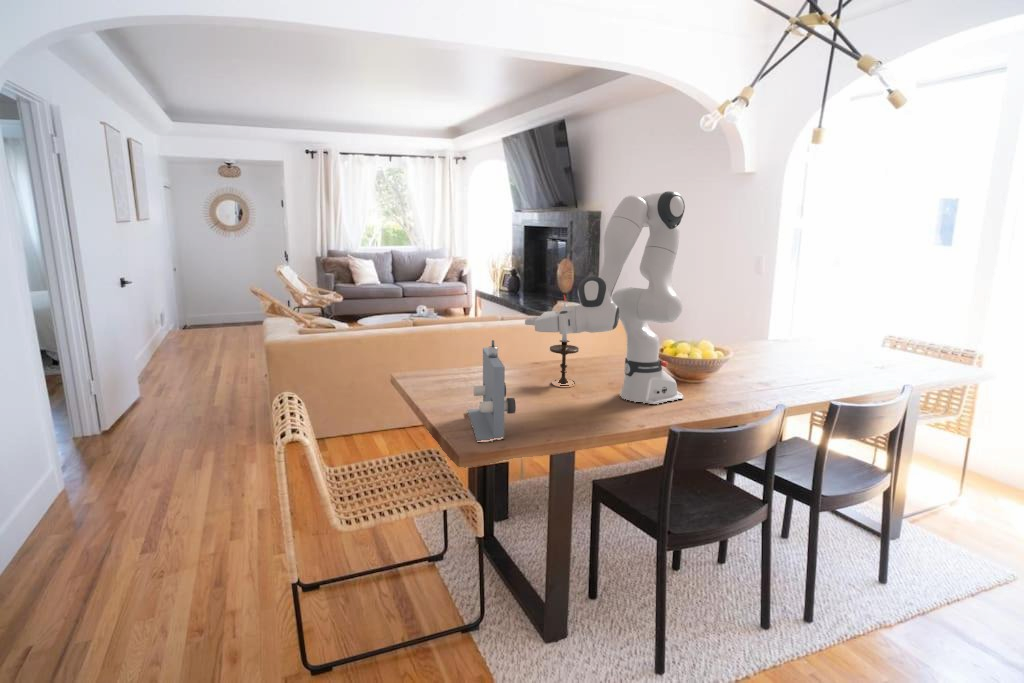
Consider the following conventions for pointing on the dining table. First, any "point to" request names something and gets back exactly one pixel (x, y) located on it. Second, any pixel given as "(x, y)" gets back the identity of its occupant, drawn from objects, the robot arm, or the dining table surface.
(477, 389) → the knob
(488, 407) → the knob
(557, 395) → the dining table surface
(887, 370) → the dining table surface
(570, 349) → the candlestick
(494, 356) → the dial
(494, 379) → the mount
